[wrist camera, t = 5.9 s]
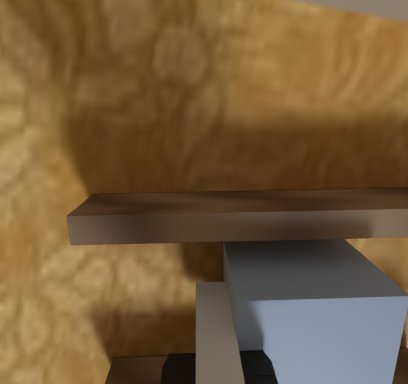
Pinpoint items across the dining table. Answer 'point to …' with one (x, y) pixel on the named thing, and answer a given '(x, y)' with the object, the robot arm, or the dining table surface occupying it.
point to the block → (315, 310)
